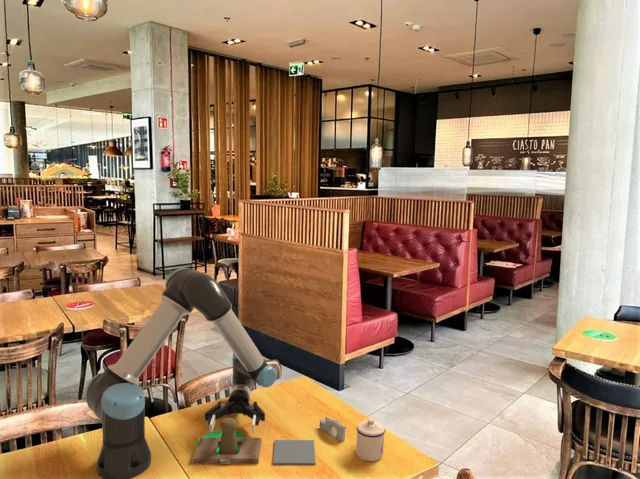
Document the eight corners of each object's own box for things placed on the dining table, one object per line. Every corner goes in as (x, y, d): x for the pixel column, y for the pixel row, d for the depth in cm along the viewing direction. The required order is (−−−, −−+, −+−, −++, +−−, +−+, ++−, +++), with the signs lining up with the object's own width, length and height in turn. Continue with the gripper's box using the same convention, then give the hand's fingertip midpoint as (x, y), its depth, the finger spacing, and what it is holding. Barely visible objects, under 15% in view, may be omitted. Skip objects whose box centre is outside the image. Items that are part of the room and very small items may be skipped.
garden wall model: (318, 428, 169) (319, 412, 169) (322, 426, 171) (322, 410, 170) (342, 442, 161) (343, 426, 160) (346, 440, 162) (346, 424, 161)
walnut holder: (192, 464, 145) (192, 459, 145) (200, 441, 158) (200, 437, 158) (258, 464, 146) (258, 459, 146) (261, 442, 159) (261, 437, 159)
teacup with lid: (387, 461, 151) (389, 426, 149) (359, 463, 149) (361, 428, 148) (376, 440, 162) (377, 408, 161) (350, 442, 161) (351, 409, 159)
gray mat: (272, 464, 147) (273, 462, 147) (274, 441, 160) (275, 439, 160) (315, 464, 147) (315, 463, 147) (313, 441, 160) (313, 440, 160)
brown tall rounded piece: (233, 459, 149) (234, 425, 148) (215, 456, 150) (215, 423, 149) (240, 448, 155) (241, 416, 153) (223, 446, 156) (223, 414, 155)
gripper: (273, 408, 177) (270, 439, 156) (204, 408, 175) (192, 439, 154) (273, 389, 176) (271, 417, 155) (205, 388, 175) (192, 417, 153)
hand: (232, 428), depth 155 cm, fingers open, 13 cm apart
